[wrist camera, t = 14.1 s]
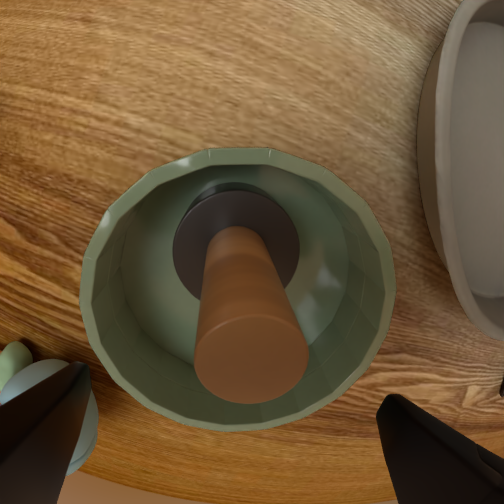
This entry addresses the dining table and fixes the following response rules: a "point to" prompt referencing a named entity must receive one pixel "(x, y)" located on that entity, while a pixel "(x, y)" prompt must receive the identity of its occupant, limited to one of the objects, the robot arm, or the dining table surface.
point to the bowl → (187, 306)
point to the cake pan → (467, 159)
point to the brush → (242, 292)
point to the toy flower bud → (27, 375)
